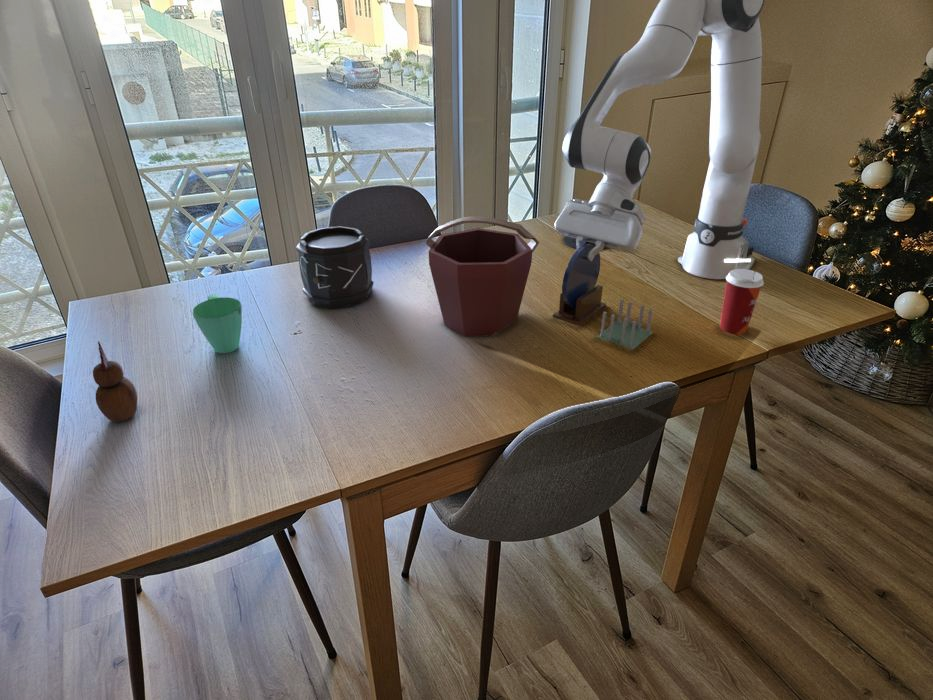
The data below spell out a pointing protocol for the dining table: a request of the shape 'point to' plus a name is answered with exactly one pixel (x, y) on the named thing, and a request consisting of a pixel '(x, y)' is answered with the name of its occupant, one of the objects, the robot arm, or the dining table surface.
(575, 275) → the plate
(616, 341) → the dish rack
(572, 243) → the dark blue round base
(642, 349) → the dining table surface
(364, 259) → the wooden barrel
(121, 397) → the wooden figurine
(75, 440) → the dining table surface
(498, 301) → the bucket
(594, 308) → the napkin holder
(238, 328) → the mug
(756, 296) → the paper cup
